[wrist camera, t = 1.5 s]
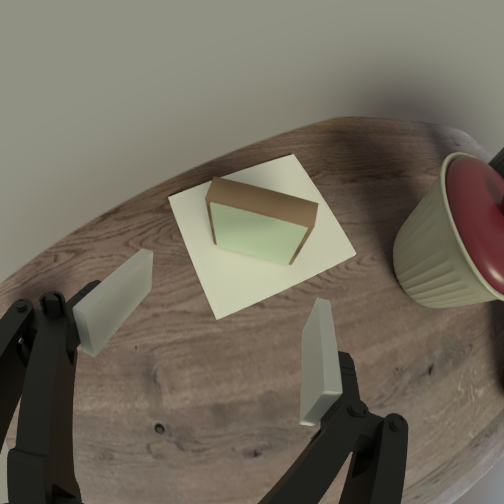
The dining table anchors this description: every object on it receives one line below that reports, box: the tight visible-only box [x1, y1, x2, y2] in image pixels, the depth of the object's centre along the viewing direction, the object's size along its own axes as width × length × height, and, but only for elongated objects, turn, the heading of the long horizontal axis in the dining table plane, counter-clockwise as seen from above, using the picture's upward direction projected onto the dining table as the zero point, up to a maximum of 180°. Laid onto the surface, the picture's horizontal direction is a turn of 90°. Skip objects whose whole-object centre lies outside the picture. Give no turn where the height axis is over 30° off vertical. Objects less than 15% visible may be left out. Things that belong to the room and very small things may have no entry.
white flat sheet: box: [168, 154, 356, 320], centre depth 36 cm, size 20×18×1 cm
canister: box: [392, 152, 504, 308], centre depth 25 cm, size 18×18×21 cm
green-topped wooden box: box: [205, 176, 319, 265], centre depth 29 cm, size 3×10×11 cm, turn 75°
